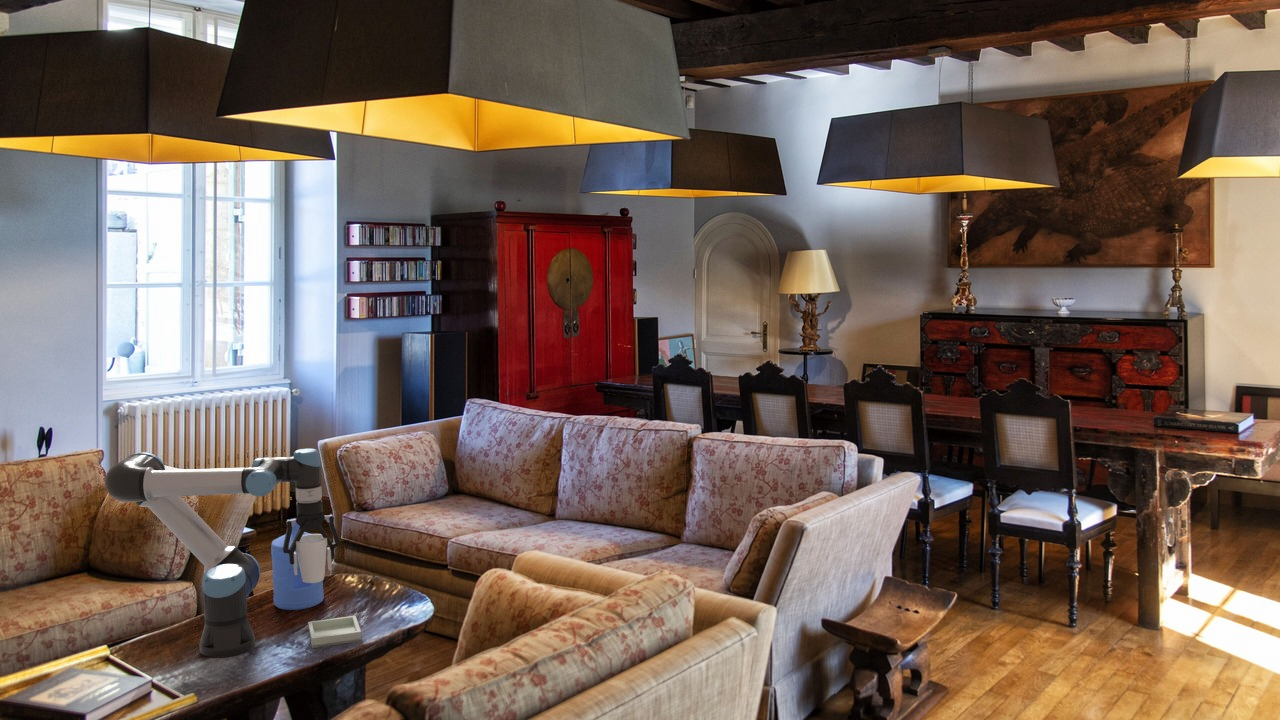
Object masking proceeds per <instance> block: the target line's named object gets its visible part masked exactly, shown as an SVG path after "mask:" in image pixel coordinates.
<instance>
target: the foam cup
mask: <svg viewBox="0 0 1280 720" xmlns="http://www.w3.org/2000/svg"><path fill="white" fill-rule="evenodd" d="M328 546H329V545H328V544H327V538H323V536H322V535H321V533H310V534H308V535H303V536H302V537H301V539H300V541H296V550H297V556H298V561H299V566H300V571H301V576H302V581H303V582H305V583H316V582H320V581H322V580H323V581H324V580H325V573H326V572H325V570H326V561H327V548H328Z"/></svg>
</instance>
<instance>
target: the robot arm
mask: <svg viewBox="0 0 1280 720" xmlns="http://www.w3.org/2000/svg"><path fill="white" fill-rule="evenodd" d="M321 466H322V463H321V457H320V451H319V450H318V449H316V448H300V449H297V450H295V451H294V452H293V455H292V456H281V457H275V456H274V457H268V456H265V457H258V458H255V459H253V461H252V465H251V467H224V468H199V469H198V468H197V469H195V468H194V469H193V468H192V469H168V470H167V469H166V467H165V464H164V461H163V460H162V459H161V458H159V456H157V455H156V454H154V453H151V452H146V451H145V452H143V451H141V452H136V453H133V454H131V455H128V456H127V457H125V458H124V459H122V460H121V461H119V462H118V463H116V464H114V465H113V466H112V467H110V469H109V470H108V471H107V472H106V474H105V477H104V486H105V490H106V492H107V494H108V495H109V496H111V497H112V499H114V500H115V501H119V502H122V503H136V504H137V506H139V508H148V509H149V510H150V511H151V512H152V513H153V514H154V515H155V516H156V517H157V519H159V520H160V522H161V523H163V525H164V526H165V527H166V528H167V529H168V530H169V532H171V533H172V534H173V535H174V536H175V537H176V538H177V540H179V541H180V542H181V544H183V545H184V546H185V547H186V548H187V549H188V551H189V552H191V553H192V554H193V556H195V558H197V560H198V561H199V562H200V563H201V564H203V566H204V568H203V575H202V580H201V581H202V582H201V590H202V601H203V602H202V603H203V617H204V627H203V629H202V630H203V631H202V633H201V637H200V639H199V640H200V641H199V652H200V654H201V655H203V656H205V657H209V658H227V657H234V656H237V655H240V654H241V655H242V654H243V653H246V652H247V651H248V652H249V651H250V650H252V648H254V647H255V645H256V638H255V633H254V631H253V629H252V626H251V624H250V622H249V620H248V607H247V606H248V604H247V602H248V601H247V598H248V597H249V595H250V594H251V592H252V591H253V590H255V588H256V587H257V585H258V582H259V581H260V577H261V568H260V564H259V562H258V561H257V559H256V558H255V557H254V556H253V555H251V554H249V553H243V552H242V551H241V550H240V549H239V548H238V547H237V546H236V545H227V544H226V542H225V541H224V540H223V539H222V538H221V537H220V536H219V535H218V534H217V533H216V532H215V531H214V530H213V529H212V528H211V526H209V525H208V524H207V522H205V520H203V518H202V517H201V516H200V515H199V514H198V513H197V512H196V511H195V510H194V509H193V508H192V507H191V506H190V505H189V504H188V503H187V502H186V500H185V499H184V498H182V497H189V496H190V497H191V496H192V497H194V496H195V497H196V496H218V495H221V496H222V495H242V494H244V495H247V494H250V495H252V496H255V497H259V498H260V497H265V496H267V495H269V494H271V492H272V491H274V490H275V488H276V486H277V485H278V484H279V483H288V482H289V483H292V482H295V499H296V504H295V505H296V517H295V518H296V519H293V518H290V519H292V520H290V519H286V531H285V534H286V535H285V534H284V535H285V540H284V545H283V552H284V553H288V554H289V560H290V564H294V574H295V575H298V574H297V555H296V552H295V549H296V541H300V539H301V537H302V535H303V534H304V532H310V531H317V530H318V532H319V534H321V535H322V536H323V538H327V544H328V545H327V546H329V547H327V551H326V560H327V569H328V571H330V572H331V571H332V570H333V569H332V567H333V566H332V560H333V559H335V557H336V556H335V549H336V548H338V547H340V546H341V541H340V539H339V535H338V533H337V530H336V527H335V523H334V522H335V516H334V515H333V514H332V513H330V514H328V515H325V514H324V508H323V507H324V506H323V499H322V498H323V492H322V491H323V490H322V469H321V468H322V467H321ZM325 520H326V522H327V523H328V525H329V528H330V531H331V534H332V537H333V540H334V542H332V540H331V538H329V535H328V534H327V533H326V531H325V530H324V528H323V526H322V524H323V522H325ZM295 523H297V524H298V525H299V526H300V527H299V529H298V532H297V534H296V536H295V538H294V540H293V543H292V545H291V547H290V548H288V547H289V542H290V537H291V533H292V527H294V524H295Z"/></svg>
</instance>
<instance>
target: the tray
mask: <svg viewBox="0 0 1280 720" xmlns="http://www.w3.org/2000/svg"><path fill="white" fill-rule="evenodd" d="M307 624H308V626H307V627H308V635H309V639H310V643H311V649H318V648H324V647H330V646H338V645H346V644H351V643H358V642H362V631H361V627H360V625H359V620H358V619H357V616H356V615H348V616H343V617H335V618H327V619H321V620H320V619H319V620H312V621H308V622H307Z"/></svg>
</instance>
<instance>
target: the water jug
mask: <svg viewBox="0 0 1280 720" xmlns="http://www.w3.org/2000/svg"><path fill="white" fill-rule="evenodd" d="M292 519H296V517H294V518H290V520H292ZM299 527H300V526H299V525H298V524H297V523H295V524H294V527H292V533H291V537H290V542H289V547H288V548H290V547H291V545H292V543H293V540H294V538H295V536H296V534H297V532H298V529H299ZM308 534H311V533H309V532H308V531H305V532H304V534H303V535H308ZM285 535H286V533H285V534H284V535H281V536H278V537H277V538H275V539H273V540H272V542H271V549H270V551H271V555H270V556H271V562H272V563H271V564H272V566H271V567H272V575H271V576H272V582H273V583H272V586H273V604H274V606H275V607H277V608H278V609H280V610H286V611H299V610H305V609H306V610H307V609H309V608H313V607H315V606H317V605H320V603H322V602H323V601H324V599H325V597H324V596H325V595H324V584H323V582H324V579H323V580H322V581H320V582H316V583H305V582H303V581H302V576H301V571H300V566H299V561H298V556H297V574H298V575H295V574H294V564H290V560H289V554H288V553H284V552H283V545H284V540H285ZM303 535H302V536H303ZM295 552H296V555H297V550H296V549H295Z"/></svg>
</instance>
